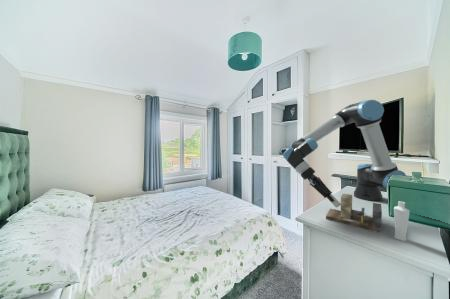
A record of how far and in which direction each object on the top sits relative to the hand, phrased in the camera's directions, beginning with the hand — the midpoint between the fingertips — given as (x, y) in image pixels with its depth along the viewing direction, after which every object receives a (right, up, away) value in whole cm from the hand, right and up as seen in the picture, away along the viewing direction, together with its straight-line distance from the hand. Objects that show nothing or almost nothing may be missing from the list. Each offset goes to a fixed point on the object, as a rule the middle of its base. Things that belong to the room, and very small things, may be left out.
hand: (338, 206), depth 89 cm
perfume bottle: (+12, -7, -19) cm, 24 cm away
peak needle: (+7, -4, -7) cm, 11 cm away
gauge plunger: (+4, -4, -3) cm, 7 cm away
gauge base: (+5, -6, -3) cm, 8 cm away
